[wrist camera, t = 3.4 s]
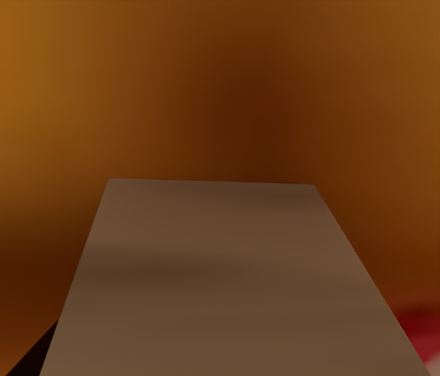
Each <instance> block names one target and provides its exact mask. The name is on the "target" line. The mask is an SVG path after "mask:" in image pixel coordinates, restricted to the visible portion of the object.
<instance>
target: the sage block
mask: <svg viewBox="0 0 440 376" xmlns="http://www.w3.org/2000/svg"><path fill="white" fill-rule="evenodd" d="M39 376H431V375H430V373H429V371H428V370H427V368H426V367H425V365H424V363H423V362H422V360H421V358H420V357H419V355H418V353H417V352H416V350H415V349H414V347H413V345H412V344H411V342H410V340H409V339H408V337H407V335H406V334H405V332H404V331H403V329H402V327H401V326H400V324H399V322H398V321H397V319H396V317H395V316H394V314H393V313H392V311H391V309H390V308H389V306H388V304H387V303H386V301H385V300H384V298H383V296H382V295H381V293H380V291H379V290H378V288H377V286H376V285H375V283H374V282H373V280H372V278H371V277H370V275H369V273H368V272H367V270H366V268H365V267H364V265H363V264H362V262H361V260H360V259H359V257H358V255H357V254H356V252H355V250H354V249H353V247H352V246H351V244H350V242H349V241H348V239H347V237H346V236H345V234H344V232H343V231H342V229H341V228H340V226H339V224H338V223H337V221H336V219H335V218H334V216H333V214H332V213H331V211H330V210H329V208H328V206H327V205H326V203H325V201H324V200H323V198H322V196H321V195H320V193H319V192H318V190H317V188H316V187H315V185H314V184H287V183H256V182H224V181H192V180H161V179H129V178H108V181H107V184H106V187H105V190H104V193H103V196H102V198H101V201H100V204H99V207H98V210H97V213H96V216H95V218H94V221H93V224H92V227H91V230H90V233H89V236H88V238H87V241H86V244H85V247H84V250H83V253H82V256H81V258H80V261H79V264H78V267H77V270H76V273H75V276H74V278H73V281H72V284H71V287H70V290H69V293H68V296H67V298H66V301H65V304H64V307H63V310H62V313H61V316H60V318H59V321H58V324H57V327H56V330H55V333H54V336H53V338H52V341H51V344H50V347H49V350H48V353H47V355H46V358H45V361H44V364H43V367H42V370H41V373H40V375H39Z"/></svg>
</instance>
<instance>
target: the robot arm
mask: <svg viewBox="0 0 440 376" xmlns="http://www.w3.org/2000/svg"><path fill="white" fill-rule="evenodd" d="M58 321H59V319H58V320H57V321H56V322H55V323H54V325H53V326H52V327H51V328H50V329H49V330H48V331H47V332H46V333H45V334H44V335H43V336H42V337H41V338H40V340H39V341H38V342H37V343H36V344H35V345H34V346H33V347H32V348H31V349H30V350H29V351H28V352H27V353H26V355H25V356H24V357H23V358H22V359H21V360H20V361H19V362H18V363H17V364H16V365H15V366H14V367H13V368H12V370H11V371H10V372H9V373H8V374H7V375H6V376H39V375H40V373H41V370H42V367H43V364H44V361H45V358H46V355H47V353H48V350H49V347H50V344H51V341H52V338H53V336H54V333H55V330H56V327H57V324H58Z"/></svg>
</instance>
